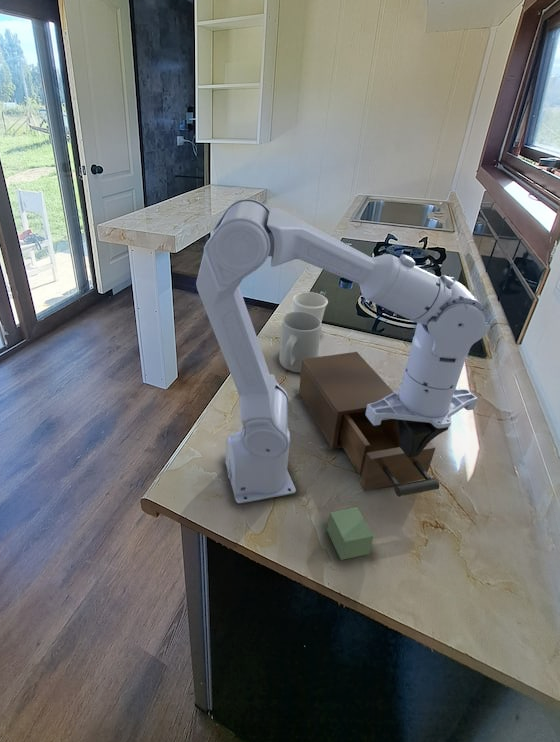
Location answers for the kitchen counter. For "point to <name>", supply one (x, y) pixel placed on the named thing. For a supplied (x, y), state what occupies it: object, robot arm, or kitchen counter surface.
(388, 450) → the drawer
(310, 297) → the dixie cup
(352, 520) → the block
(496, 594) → the kitchen counter surface
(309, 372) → the cabinet
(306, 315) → the mug
